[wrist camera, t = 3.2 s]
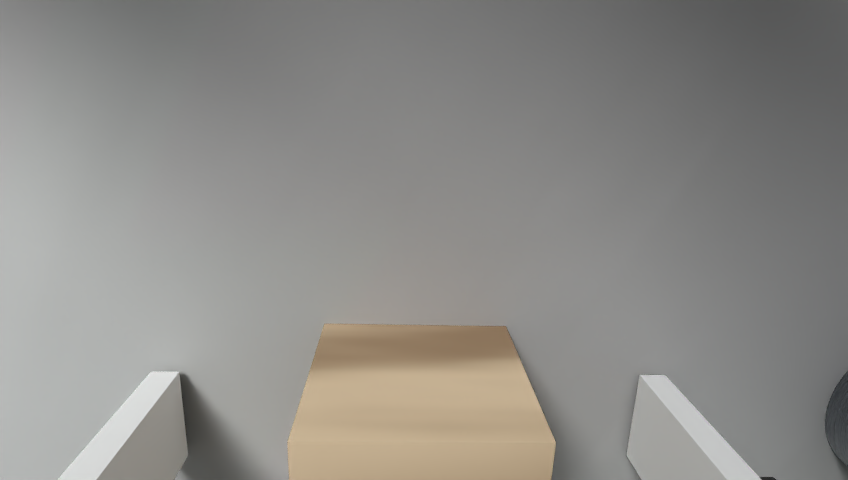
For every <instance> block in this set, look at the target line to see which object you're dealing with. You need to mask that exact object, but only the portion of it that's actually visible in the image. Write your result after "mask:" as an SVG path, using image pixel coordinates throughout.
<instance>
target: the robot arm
mask: <svg viewBox="0 0 848 480" xmlns="http://www.w3.org/2000/svg"><path fill="white" fill-rule="evenodd" d="M626 455H627V457H628V458H629V460H630V462H631V463H632V465H633V467H634V468H635V470H636V471H637V473H638V475H639V476H640V478H641V480H776V479H775V478H773V477H759V476H758V475H757V474H756V473H755V472H754V471H753V470H752V469H751V468H750V467H749V465H748V464H747V463H746V462H745V461H744V460H743V459H742V458H741V457H740V456H739V455H738V454H737V452H736V451H735V450H734V449H733V448H732V447H731V446H730V445H729V444H728V443H727V442H726V441H725V439H724V438H723V437H722V436H721V435H720V434H719V433H718V432H717V431H716V430H715V429H714V428H713V426H712V425H711V424H710V423H709V422H708V421H707V420H706V419H705V418H704V417H703V416H702V414H701V413H700V412H699V411H698V410H697V409H696V408H695V407H694V406H693V405H692V404H691V403H690V401H689V400H688V399H687V398H686V397H685V396H684V395H683V394H682V393H681V392H680V391H679V390H678V388H677V387H676V386H675V385H674V384H673V383H672V382H671V381H670V380H669V379H668V378H667V376H666V375H640V376H639V382H638V388H637V394H636V400H635V406H634V412H633V418H632V424H631V430H630V436H629V442H628V448H627V453H626ZM187 457H188V449H187V439H186V430H185V421H184V411H183V402H182V393H181V383H180V374H179V372H150V373H149V374H148V376H147V377H146V378H145V379H144V380H143V381H142V383H141V384H140V385H139V386H138V387H137V388H136V389H135V391H134V392H133V393H132V394H131V395H130V396H129V398H128V399H127V400H126V401H125V402H124V403H123V404H122V406H121V407H120V408H119V409H118V410H117V411H116V413H115V414H114V415H113V416H112V417H111V418H110V419H109V421H108V422H107V423H106V424H105V425H104V426H103V427H102V429H101V430H100V431H99V432H98V433H97V434H96V436H95V437H94V438H93V439H92V440H91V441H90V442H89V444H88V445H87V446H86V447H85V448H84V449H83V451H82V452H81V453H80V454H79V455H78V456H77V457H76V459H75V460H74V461H73V462H72V463H71V464H70V466H69V467H68V468H67V469H66V470H65V471H64V472H63V474H62V475H61V476H60V477H59V478H58V479H57V480H175V478H176V476H177V474H178V472H179V471H180V469H181V467H182V465H183V464H184V462H185V460H186V458H187Z"/></svg>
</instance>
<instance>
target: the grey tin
mask: <svg viewBox="0 0 848 480" xmlns="http://www.w3.org/2000/svg"><path fill="white" fill-rule="evenodd" d="M825 429H826V436H827V439H828V442H829V445H830V447H831V449H832V450H833V452H834V453H835V455H836V456H837V457H838V458H839V459H840V460H841V461H842V462H844V463H845V464H846V465H847V466H848V371H847V373H846V374H845V375H844V376H843V377H842V379H841V380H840V382H839V383H838V385H837V386H836V388H835V390H834V392H833V394H832V396H831V398H830V401H829V404H828V407H827V412H826V419H825Z"/></svg>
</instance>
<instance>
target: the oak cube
mask: <svg viewBox="0 0 848 480" xmlns="http://www.w3.org/2000/svg"><path fill="white" fill-rule="evenodd" d="M287 443H288V466H289V480H551V477H552V469H553V462H554V454H555V446H556V442H555V439H554V437H553V435H552V433H551V430H550V428H549V426H548V423H547V421H546V419H545V416H544V414H543V412H542V409H541V407H540V405H539V402H538V400H537V398H536V395H535V393H534V391H533V388H532V386H531V384H530V381H529V379H528V377H527V374H526V372H525V370H524V367H523V365H522V363H521V360H520V358H519V356H518V353H517V351H516V349H515V346H514V344H513V342H512V339H511V337H510V335H509V332H508V330H507V328H506V326H448V325H380V324H324V327H323V330H322V333H321V336H320V339H319V343H318V346H317V349H316V352H315V355H314V359H313V362H312V365H311V368H310V371H309V375H308V378H307V381H306V384H305V387H304V390H303V394H302V397H301V400H300V403H299V406H298V410H297V413H296V416H295V419H294V422H293V426H292V429H291V432H290V435H289V438H288V442H287Z"/></svg>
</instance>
